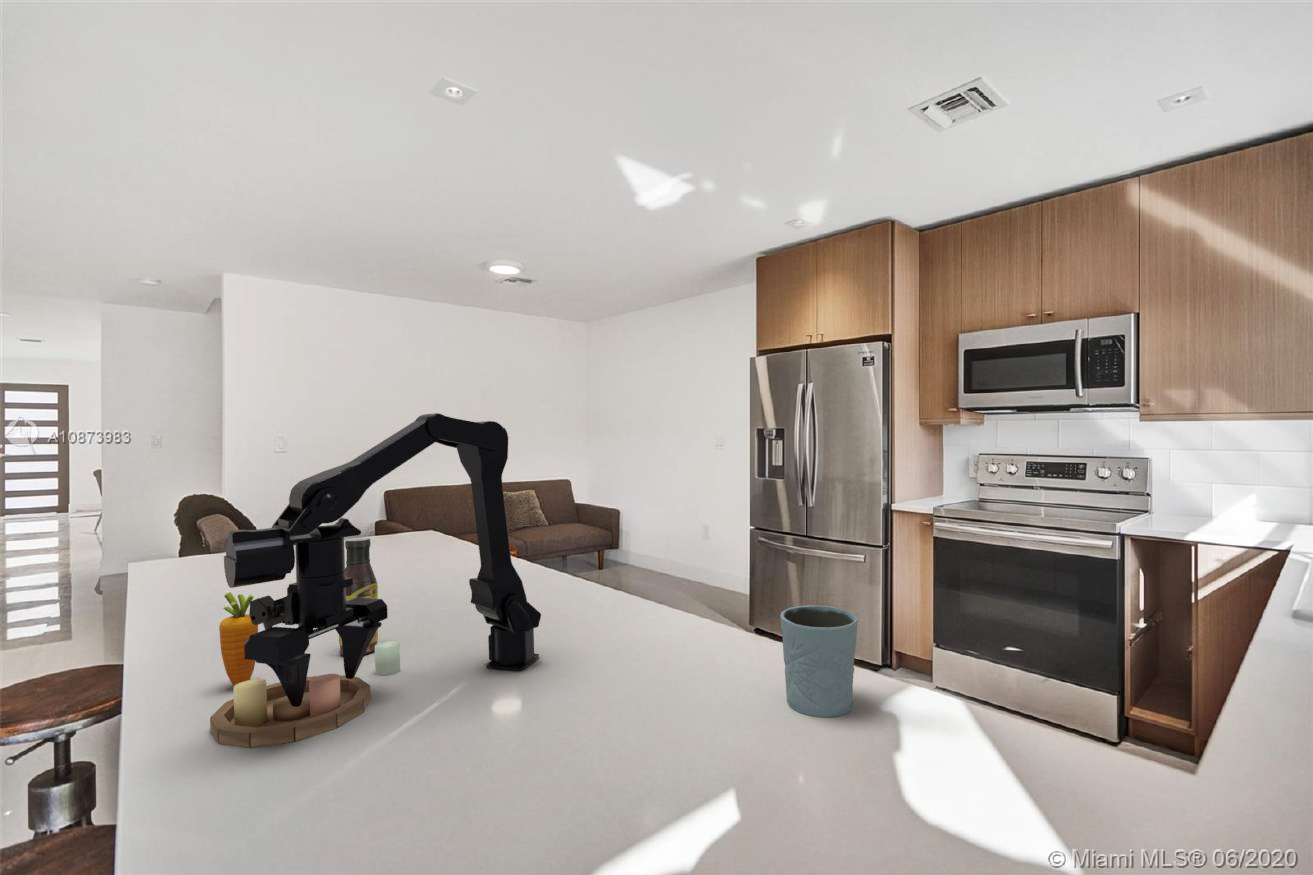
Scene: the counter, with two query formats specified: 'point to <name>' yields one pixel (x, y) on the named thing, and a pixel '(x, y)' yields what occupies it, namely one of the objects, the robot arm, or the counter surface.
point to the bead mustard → (250, 703)
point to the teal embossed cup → (819, 659)
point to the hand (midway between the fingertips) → (324, 691)
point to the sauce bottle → (360, 577)
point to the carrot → (237, 639)
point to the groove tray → (294, 728)
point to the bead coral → (324, 694)
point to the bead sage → (387, 658)
